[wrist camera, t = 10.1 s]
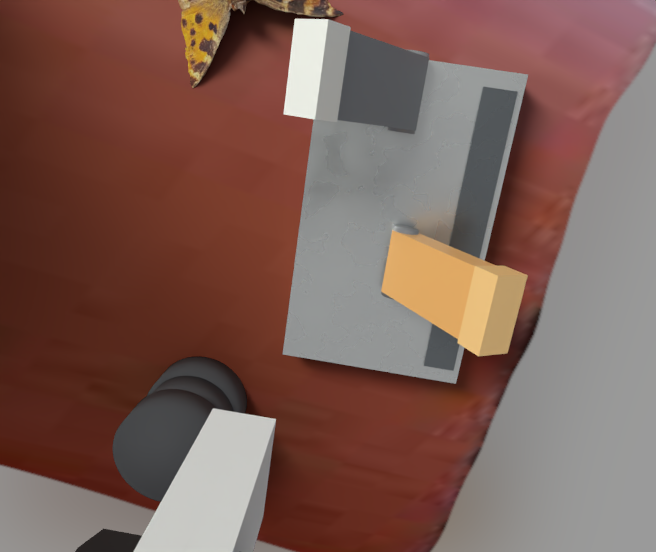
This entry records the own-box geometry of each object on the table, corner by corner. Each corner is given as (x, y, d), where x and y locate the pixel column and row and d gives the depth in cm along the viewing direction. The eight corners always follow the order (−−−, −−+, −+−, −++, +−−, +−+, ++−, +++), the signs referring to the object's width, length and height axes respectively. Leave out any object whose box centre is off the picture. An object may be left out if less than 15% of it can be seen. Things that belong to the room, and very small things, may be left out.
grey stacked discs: (155, 430, 44) (111, 492, 36) (160, 349, 42) (114, 398, 34) (242, 445, 43) (215, 511, 36) (251, 364, 41) (224, 417, 34)
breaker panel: (288, 340, 40) (282, 355, 38) (327, 50, 35) (323, 44, 32) (451, 367, 40) (456, 385, 37) (517, 77, 34) (528, 74, 32)
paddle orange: (373, 291, 35) (478, 358, 27) (385, 224, 34) (498, 273, 26) (399, 290, 36) (507, 355, 28) (411, 225, 35) (528, 273, 27)
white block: (394, 130, 34) (283, 116, 26) (407, 53, 32) (295, 16, 25) (422, 135, 32) (314, 121, 25) (437, 55, 31) (328, 16, 24)
